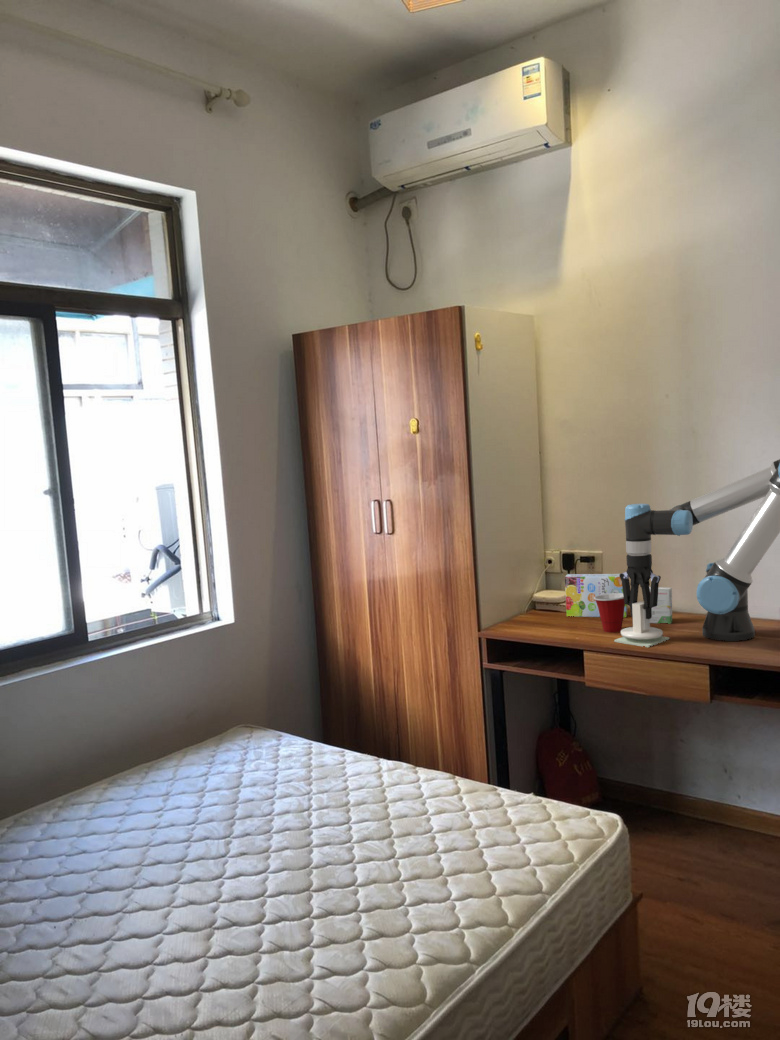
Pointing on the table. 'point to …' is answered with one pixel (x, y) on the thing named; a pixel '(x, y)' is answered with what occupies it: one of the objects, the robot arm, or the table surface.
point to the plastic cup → (611, 611)
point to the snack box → (589, 592)
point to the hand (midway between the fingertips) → (641, 627)
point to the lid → (640, 625)
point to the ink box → (662, 606)
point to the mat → (642, 641)
